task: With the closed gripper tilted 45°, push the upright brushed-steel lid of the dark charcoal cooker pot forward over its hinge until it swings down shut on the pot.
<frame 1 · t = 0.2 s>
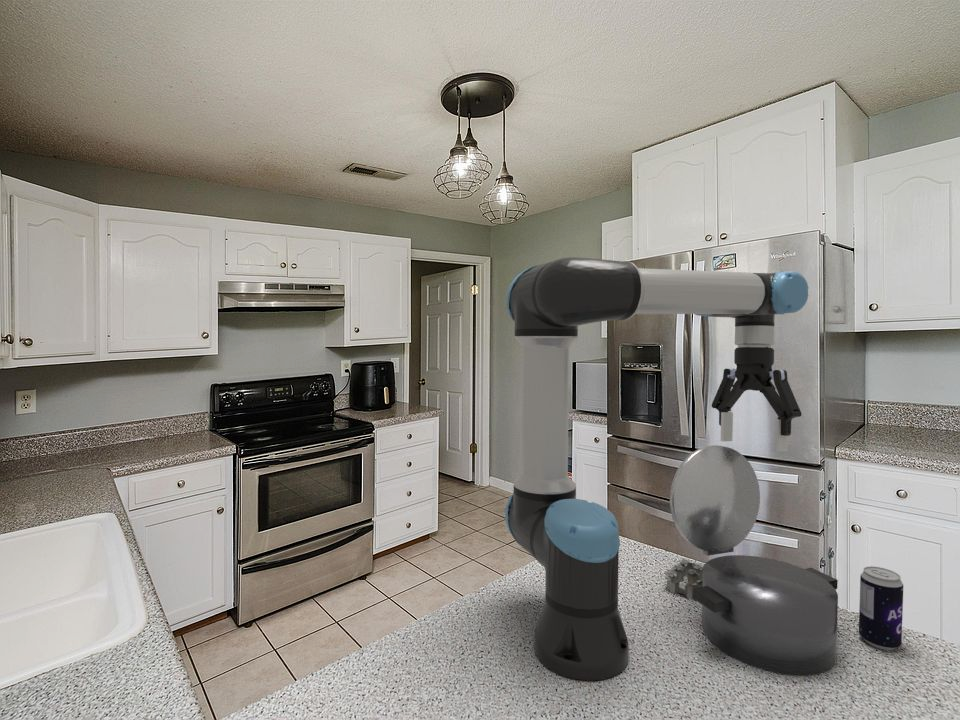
hand: (752, 446, 110), 28 cm above the countertop, tool pointing down, fingers open, 13 cm apart
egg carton: (689, 588, 106), on the countertop
beverage can: (879, 644, 87), on the countertop
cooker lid: (713, 498, 99), point 20 cm above the countertop, hinge at 95.0°
cooker pot: (765, 637, 88), on the countertop
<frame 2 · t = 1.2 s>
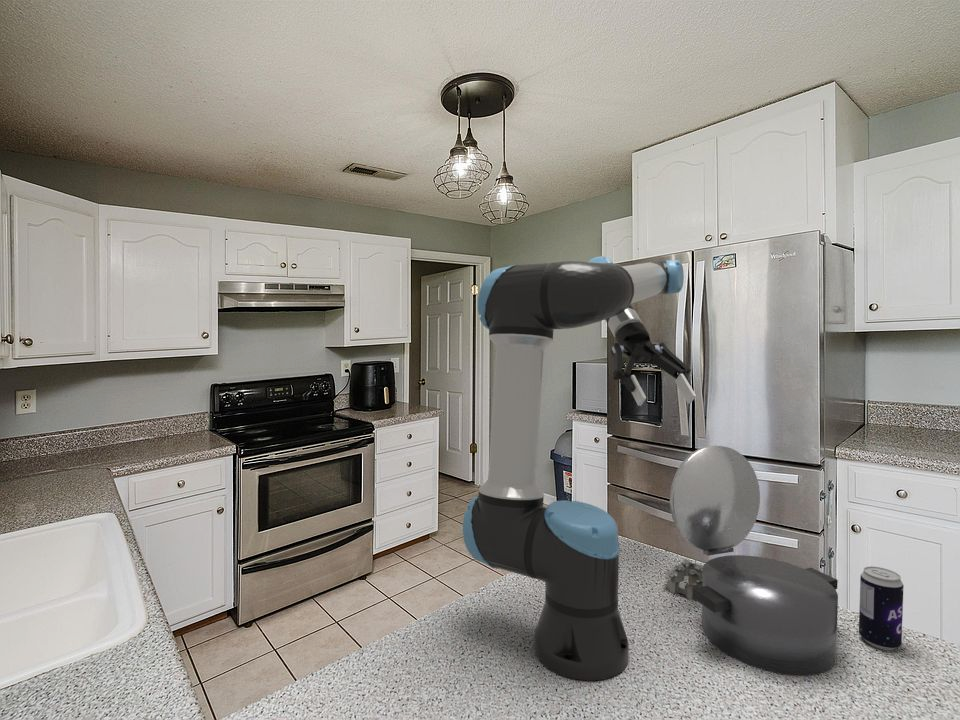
hand: (667, 400, 112), 37 cm above the countertop, tool tilted 45°, fingers open, 12 cm apart
nothing on the countertop moved.
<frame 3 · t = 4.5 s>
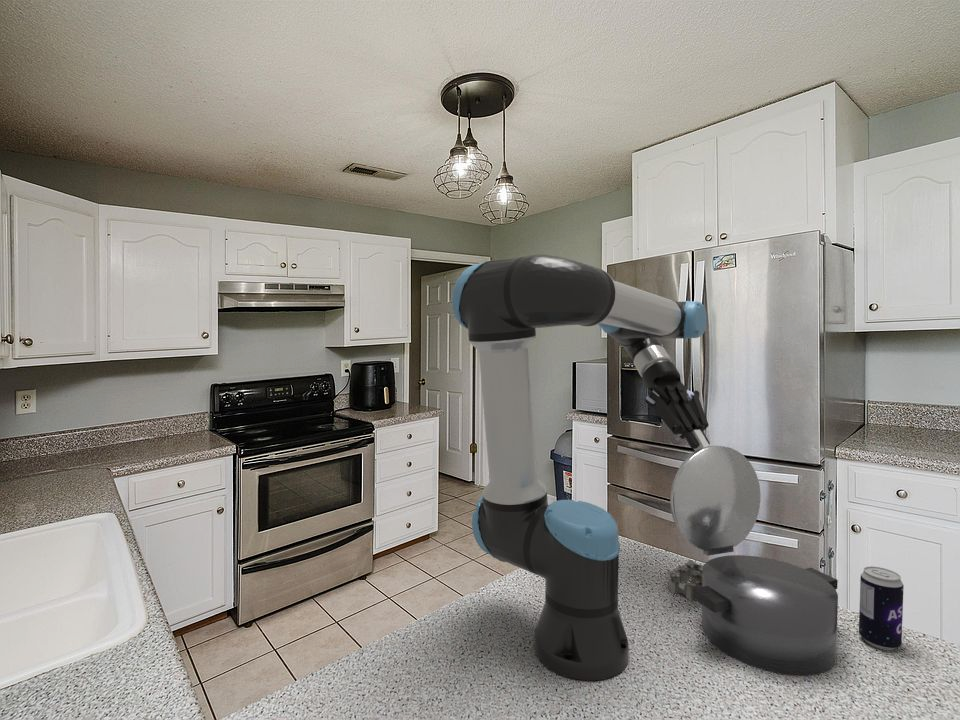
hand: (709, 461, 101), 27 cm above the countertop, tool tilted 45°, fingers closed
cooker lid: (714, 498, 99), point 20 cm above the countertop, hinge at 94.2°, touching gripper
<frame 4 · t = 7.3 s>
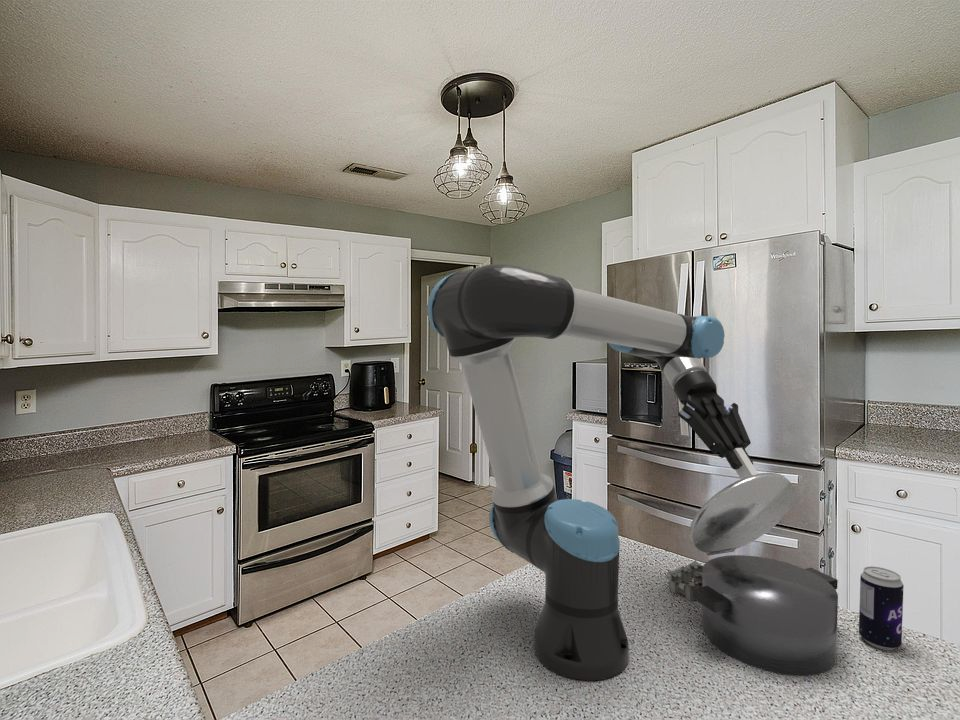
hand: (753, 483, 90), 26 cm above the countertop, tool tilted 45°, fingers closed
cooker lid: (739, 512, 93), point 20 cm above the countertop, hinge at 58.5°, touching gripper
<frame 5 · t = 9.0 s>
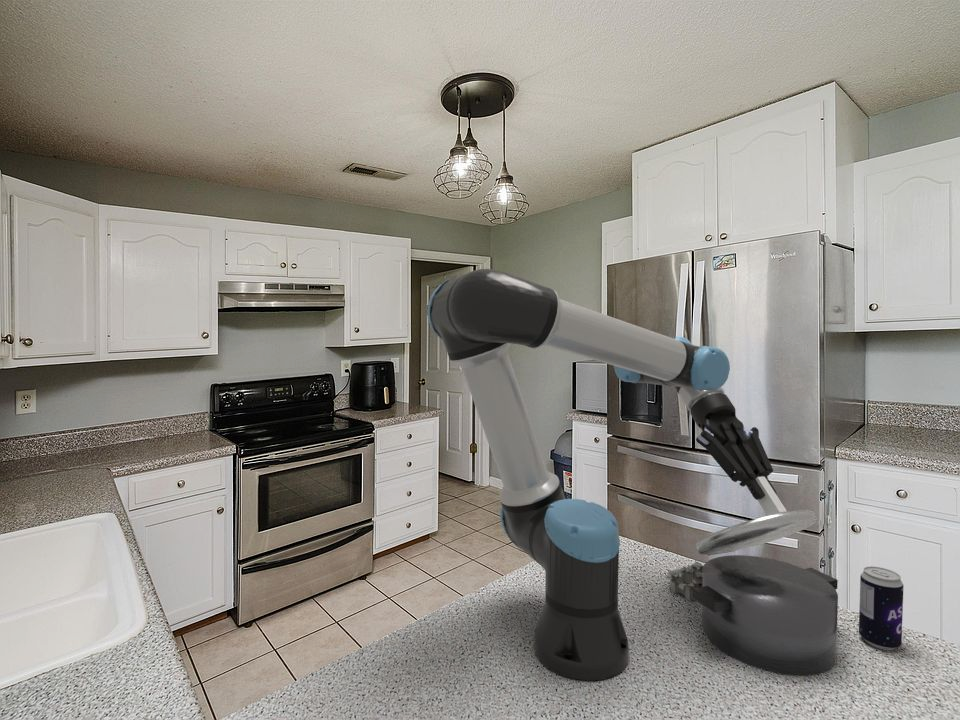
hand: (778, 515, 86), 22 cm above the countertop, tool tilted 45°, fingers closed
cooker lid: (752, 530, 90), point 17 cm above the countertop, hinge at 37.3°, touching gripper
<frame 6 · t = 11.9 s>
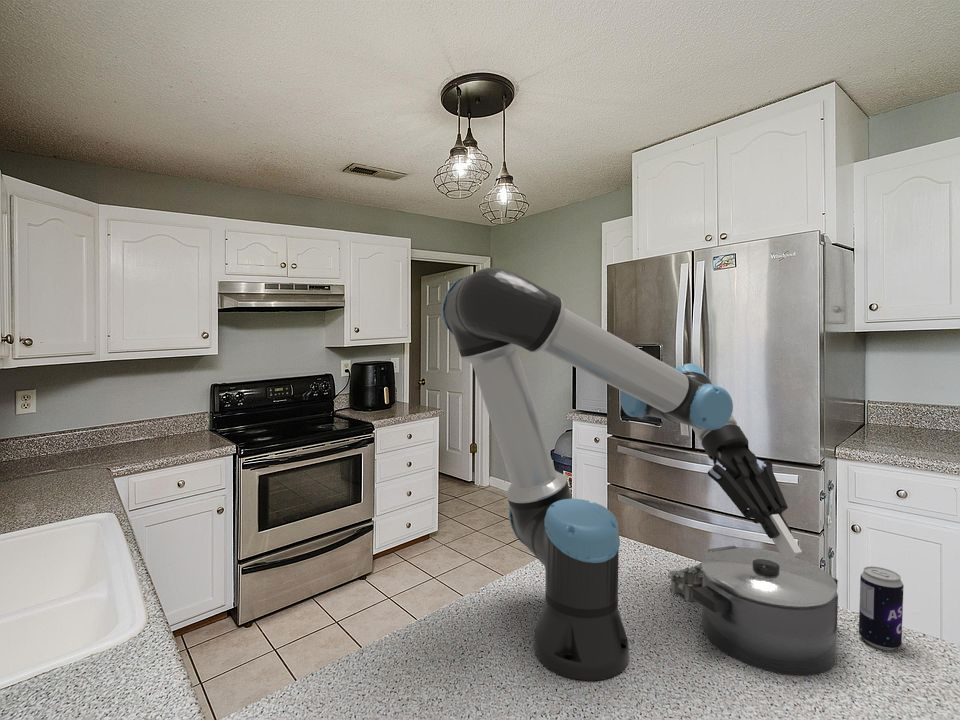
hand: (793, 555, 83), 16 cm above the countertop, tool tilted 45°, fingers closed
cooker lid: (765, 570, 88), point 11 cm above the countertop, hinge at -0.1°
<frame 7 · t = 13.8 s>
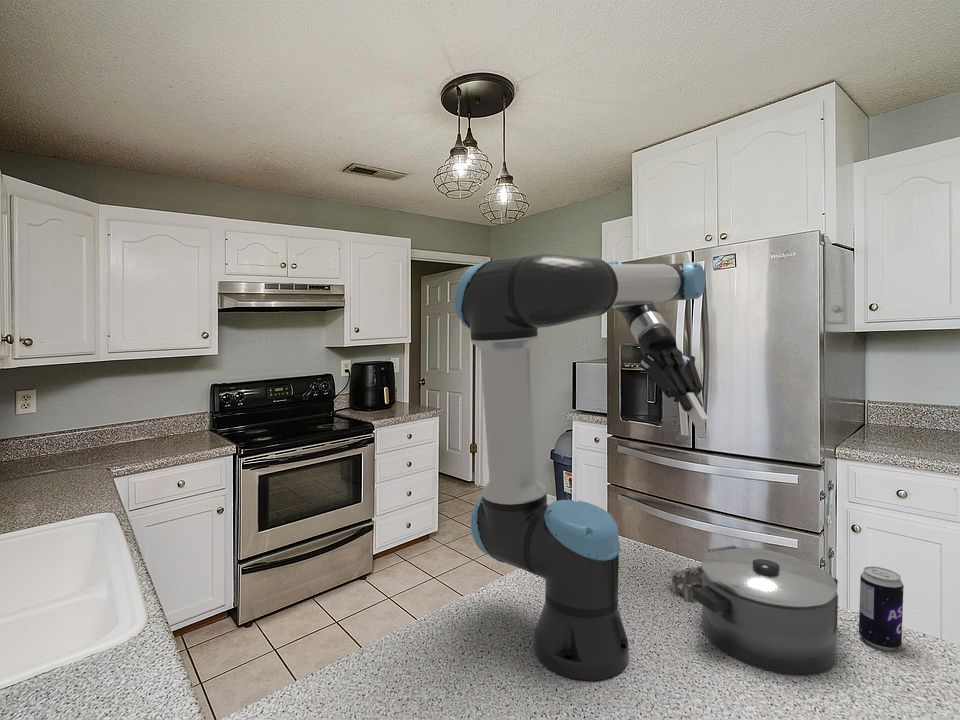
hand: (701, 422, 101), 35 cm above the countertop, tool tilted 45°, fingers closed
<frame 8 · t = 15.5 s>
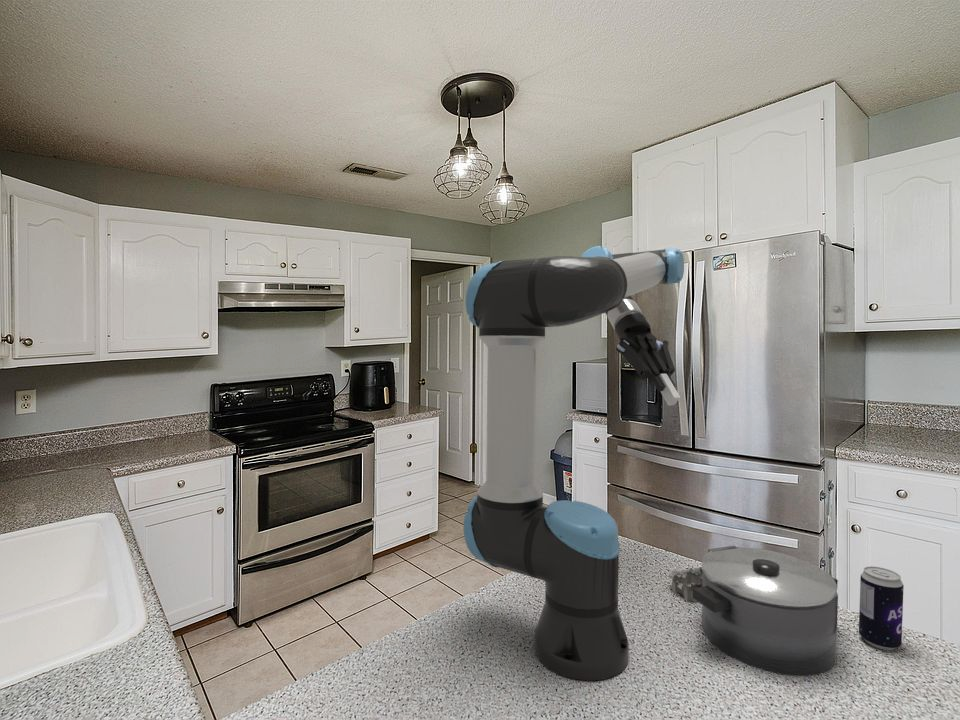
hand: (674, 401, 107), 38 cm above the countertop, tool tilted 45°, fingers closed
at the end: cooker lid at +0° (first picture: +95°); beverage can moved 0.2 cm from its start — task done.
